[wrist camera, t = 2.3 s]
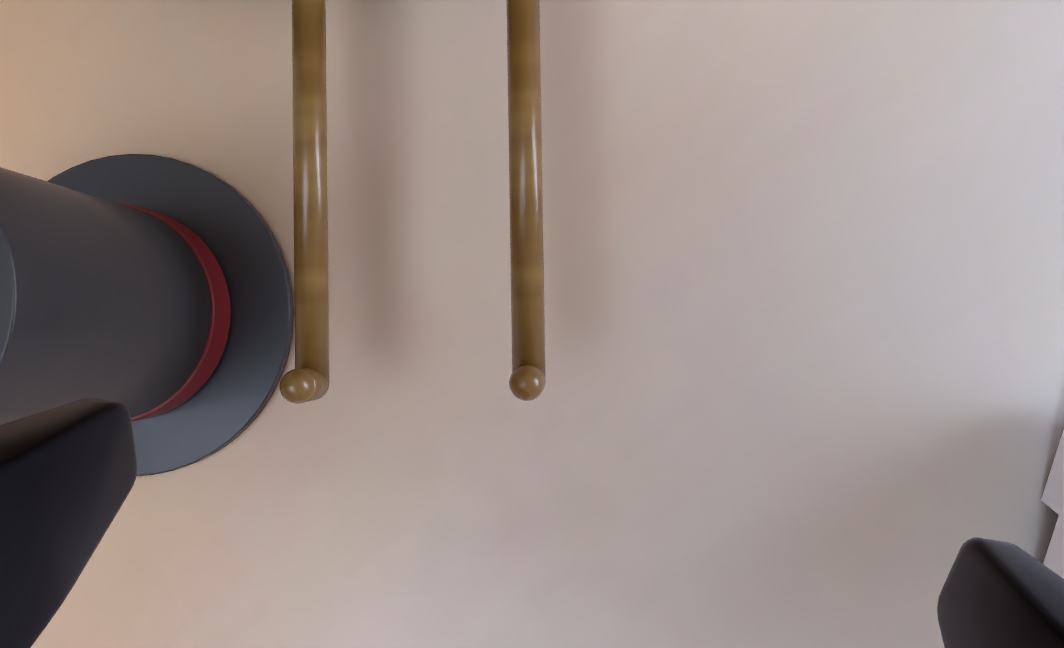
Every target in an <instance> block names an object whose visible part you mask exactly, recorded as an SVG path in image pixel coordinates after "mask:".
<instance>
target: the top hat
mask: <svg viewBox="0 0 1064 648" xmlns="http://www.w3.org/2000/svg"><path fill="white" fill-rule="evenodd" d="M293 314H294V310H293V296H292V288H291V283H290V278H289V273H288V269H287V266H286V264H285V261H284V258H283V255H282V252H281V250H280V248H279V246H278V244H277V242H276V240H275V238H274V236H273V234H272V232H271V230H270V229H269V227H268V226H267V224H266V223H265V221H264V220H263V219H262V217H261V216H260V214H259V213H258V212H257V211H256V210H255V209H254V208H253V206H252V205H251V204H250V203H249V202H248V201H247V200H246V199H245V198H244V197H243V196H242V195H240V194H239V193H238V192H237V191H236V190H235V189H233V188H232V187H231V186H230V185H228V184H226V183H225V182H223V181H222V180H220V179H219V178H217V177H216V176H214V175H212V174H210V173H208V172H206V171H204V170H202V169H199V168H197V167H195V166H193V165H191V164H188V163H185V162H181V161H178V160H175V159H172V158H167V157H161V156H155V155H142V154H126V155H116V156H108V157H104V158H100V159H95V160H91V161H88V162H85V163H83V164H80V165H77V166H75V167H72V168H70V169H68V170H66V171H64V172H62V173H60V174H59V175H57V176H55V177H53V178H51V179H50V180H49V181H47V182H46V181H43V180H40V179H37V178H33V177H30V176H27V175H24V174H20V173H17V172H14V171H10V170H7V169H4V168H1V167H0V425H2V424H5V423H9V422H12V421H15V420H18V419H21V418H24V417H27V416H30V415H34V414H37V413H40V412H43V411H46V410H49V409H52V408H56V407H59V406H62V405H65V404H68V403H71V402H74V401H78V400H81V399H85V398H94V399H100V400H107V401H113V402H119V403H122V404H123V405H125V406H126V407H127V408H128V410H129V412H130V415H131V420H132V428H133V435H134V442H135V450H136V457H137V475H136V476H143V475H154V474H159V473H163V472H168V471H173V470H176V469H179V468H182V467H185V466H187V465H190V464H193V463H196V462H198V461H200V460H202V459H204V458H206V457H208V456H210V455H212V454H214V453H216V452H217V451H219V450H220V449H221V448H223V447H224V446H226V445H227V444H229V443H230V442H231V441H233V440H234V439H235V438H236V437H237V436H238V435H239V434H241V433H242V432H243V431H244V430H245V429H246V428H247V427H248V426H249V425H250V424H251V423H252V421H253V420H254V419H255V418H256V417H257V415H258V414H259V413H260V412H261V411H262V409H263V408H264V406H265V405H266V403H267V401H268V400H269V398H270V397H271V395H272V394H273V392H274V390H275V388H276V386H277V383H278V381H279V379H280V377H281V375H282V373H283V369H284V366H285V363H286V360H287V357H288V354H289V349H290V343H291V338H292V332H293Z"/></svg>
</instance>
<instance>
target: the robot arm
mask: <svg viewBox="0 0 1064 648" xmlns="http://www.w3.org/2000/svg"><path fill="white" fill-rule="evenodd" d="M136 475H137V457H136V450H135V442H134V435H133V428H132V420H131V415H130V412H129V410H128V408H127V407H126V406H125V405H123V404H122V403H119V402H113V401H107V400H100V399H94V398H85V399H81V400H78V401H74V402H71V403H68V404H65V405H62V406H59V407H56V408H52V409H49V410H46V411H43V412H40V413H37V414H34V415H30V416H27V417H24V418H21V419H18V420H15V421H12V422H9V423H5V424H2V425H0V648H31V646H32V645H33V643H34V642H35V641H36V639H37V638H38V637H39V635H40V634H41V633H42V631H43V630H44V629H45V627H46V626H47V624H48V623H49V622H50V620H51V619H52V617H53V616H54V615H55V613H56V612H57V610H58V609H59V607H60V606H61V604H62V603H63V601H64V600H65V598H66V597H67V595H68V594H69V592H70V590H71V589H72V587H73V586H74V584H75V582H76V581H77V579H78V577H79V576H80V574H81V572H82V571H83V569H84V567H85V566H86V564H87V562H88V561H89V559H90V557H91V556H92V554H93V552H94V551H95V549H96V547H97V546H98V544H99V542H100V541H101V539H102V537H103V536H104V534H105V532H106V531H107V529H108V527H109V526H110V524H111V522H112V521H113V519H114V517H115V516H116V514H117V512H118V511H119V509H120V507H121V506H122V504H123V502H124V501H125V499H126V497H127V496H128V494H129V492H130V491H131V489H132V487H133V484H134V482H135V479H136ZM937 613H938V621H939V626H940V630H941V634H942V638H943V642H944V647H945V648H1064V579H1063V578H1062V577H1061V576H1059V575H1058V574H1056V573H1055V572H1053V571H1052V570H1051V569H1049V568H1048V567H1046V566H1045V565H1043V564H1042V563H1041V562H1039V561H1038V560H1036V559H1035V558H1033V557H1032V556H1031V555H1029V554H1028V553H1026V552H1025V551H1023V550H1022V549H1021V548H1019V547H1018V546H1016V545H1014V544H1011V543H1008V542H1002V541H996V540H989V539H983V538H971V539H969V540H967V541H966V542H965V543H964V544H963V545H962V547H961V549H960V551H959V553H958V555H957V557H956V559H955V562H954V564H953V566H952V568H951V571H950V573H949V575H948V577H947V579H946V582H945V584H944V586H943V588H942V591H941V593H940V596H939V600H938V607H937Z"/></svg>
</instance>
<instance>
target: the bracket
mask: <svg viewBox="0 0 1064 648" xmlns="http://www.w3.org/2000/svg"><path fill="white" fill-rule="evenodd" d="M1041 501H1042V502H1044V503H1045V504H1046V505H1047V506H1049V507H1050V508H1051V509H1052V510H1053V511H1055V512H1056V513H1057V514H1058V515H1059V517H1058V520H1057V523H1056V526H1055V529H1054V532H1053V535H1052V538H1051V541H1050V544H1049V547H1048V550H1047V553H1046V556H1045V559H1044V562H1043V565H1045V566H1046V567H1048V568H1049V569H1051V570H1052V571H1053V572H1055V573H1056V574H1058V575H1059V576H1061V577H1062V578H1063V579H1064V430H1063V433H1062V436H1061V439H1060V442H1059V446H1058V449H1057V452H1056V455H1055V458H1054V461H1053V464H1052V468H1051V471H1050V474H1049V477H1048V480H1047V483H1046V486H1045V490H1044V493H1043V496H1042V499H1041Z"/></svg>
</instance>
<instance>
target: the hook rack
mask: <svg viewBox="0 0 1064 648" xmlns="http://www.w3.org/2000/svg"><path fill="white" fill-rule="evenodd" d="M507 52H508V117H509V183H510V248H511V313H512V375H511V377H510V381H509V385H510V389H511V391H512V393H513V394H514V395H515V396H516V397H517V398H519V399H521V400H525V401H528V400H533V399H535V398H537V397H538V396H539V395H540V394H541V392H542V391H543V389H544V386H545V321H544V260H543V198H542V137H541V76H540V14H539V0H507ZM292 56H293V168H294V281H295V369H294V370H291V371H289V372H287V373H286V374H285V375H284V376H283V377H282V379H281V382H280V391H281V394H282V396H283V397H284V398H285V399H286V400H287V401H289V402H292V403H304V402H308V401H312V400H316V399H319V398H321V397H323V396H324V395H325V394H326V392H327V390H328V388H329V310H328V208H327V107H326V6H325V0H292Z"/></svg>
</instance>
